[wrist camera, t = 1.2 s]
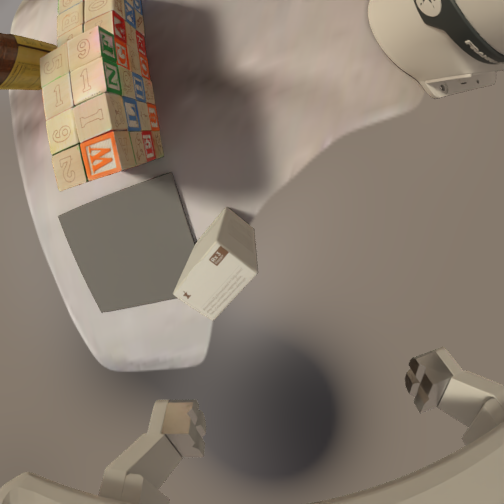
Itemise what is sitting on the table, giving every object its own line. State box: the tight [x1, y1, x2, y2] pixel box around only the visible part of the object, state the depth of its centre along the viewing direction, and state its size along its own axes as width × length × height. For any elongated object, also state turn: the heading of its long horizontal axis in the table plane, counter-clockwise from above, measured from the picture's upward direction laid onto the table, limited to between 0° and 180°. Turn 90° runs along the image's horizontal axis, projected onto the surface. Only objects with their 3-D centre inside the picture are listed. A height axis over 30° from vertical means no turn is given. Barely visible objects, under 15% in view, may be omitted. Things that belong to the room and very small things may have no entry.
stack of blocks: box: [40, 0, 164, 191], centre depth 20 cm, size 21×6×12 cm, turn 9°
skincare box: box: [173, 207, 258, 320], centre depth 27 cm, size 6×4×12 cm
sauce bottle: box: [0, 33, 57, 90], centre depth 14 cm, size 6×6×20 cm
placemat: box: [58, 172, 195, 313], centre depth 33 cm, size 17×15×1 cm
